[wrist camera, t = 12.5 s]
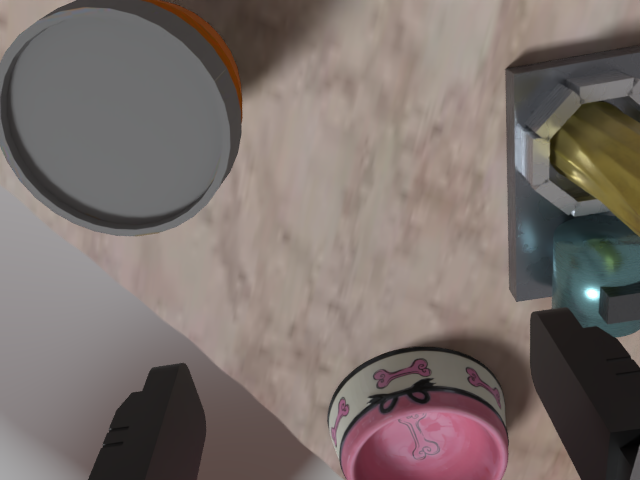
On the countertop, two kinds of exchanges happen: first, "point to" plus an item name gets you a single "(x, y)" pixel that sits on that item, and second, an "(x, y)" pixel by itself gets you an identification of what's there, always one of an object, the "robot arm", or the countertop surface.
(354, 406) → the dog bowl
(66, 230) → the countertop surface
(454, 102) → the countertop surface
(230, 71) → the reusable coffee cup
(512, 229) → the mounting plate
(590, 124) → the vase
